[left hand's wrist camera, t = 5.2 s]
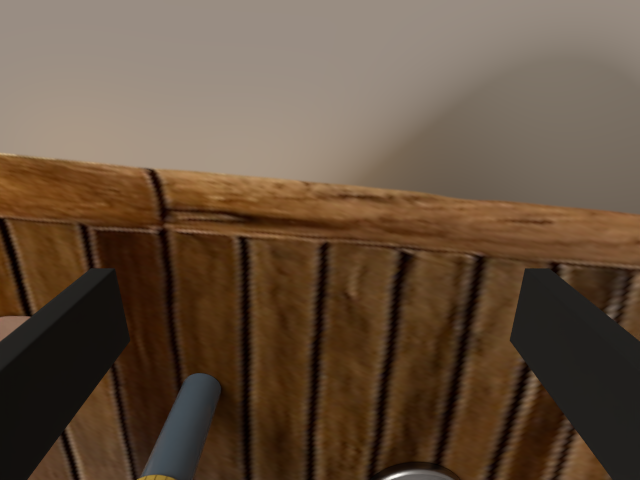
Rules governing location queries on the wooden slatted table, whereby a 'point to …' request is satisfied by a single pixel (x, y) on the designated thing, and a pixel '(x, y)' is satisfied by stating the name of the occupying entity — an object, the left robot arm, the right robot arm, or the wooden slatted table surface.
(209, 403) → the blue-grey cylinder
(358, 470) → the wooden slatted table surface
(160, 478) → the lid
